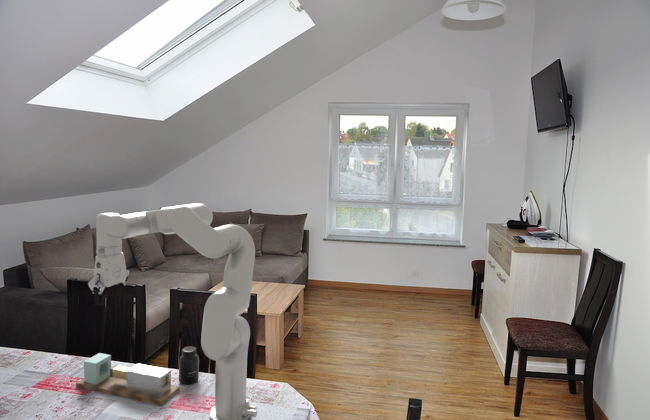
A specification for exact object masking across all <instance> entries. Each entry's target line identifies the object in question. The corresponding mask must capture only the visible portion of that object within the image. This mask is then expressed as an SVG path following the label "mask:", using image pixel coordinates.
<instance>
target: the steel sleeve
mask: <svg viewBox="0 0 650 420" xmlns="http://www.w3.org/2000/svg"><path fill="white" fill-rule="evenodd" d="M165 376H166V383H165V384H164V385H163V386H162V379H163V378H164V377H165ZM171 385H172V369H168V368H165V367H160V366H153V365H148V364H144V363H143V364H142V363H136V364H135V365H134V366H132V367H130V369H129V370H127V390H130V391H135V392H140V393H144V394H149V395H154V396H159V397H161V396H162V395H164V394H165V393H166V392H167V391H169V390H170V389H171Z"/></svg>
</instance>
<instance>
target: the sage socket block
mask: <svg viewBox="0 0 650 420" xmlns="http://www.w3.org/2000/svg"><path fill="white" fill-rule="evenodd" d="M110 368H112V355H111V354H107V353H101V352H98V353H97V354H95V355H93V356H92V357H89V358H87V359H85V360H83V377H84V378H83V379H84V382H87V383H91V384H98V383H100V382H101V381H103V380H104V379H106V378H108V377H109V376H110Z"/></svg>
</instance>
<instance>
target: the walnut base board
mask: <svg viewBox="0 0 650 420" xmlns="http://www.w3.org/2000/svg"><path fill="white" fill-rule="evenodd" d="M75 386H76V388H79V389H83V390H88V391H93V392H97V393H102V394H106V395H110V396H115V397H120V398H125V399H129V400H133V401H136V402H137V401H138V402H142V403H146V404H147V403H148V404H152V405H156V406H160V407H161V406H163V405H164V404H166V403H167V402H168V401H170V400H171V399H172V398H174V396H175V395H177V394H178V393H179V392H180V391H181V387H180V386H178V385H173V384H171V389H170V390H169V391H167V392H166V393H165V394H164V395H162V396H161V397H159V396H154V395H149V394H144V393H140V392H135V391H130V390H127V380H123V379H118V378H112V377H110V376H109V377H108V378H106V379H104V380H103V381H101V382H100V383H98V384H91V383H87V382H84V378H82V379H80V380H79V381H77V382H76V383H75Z"/></svg>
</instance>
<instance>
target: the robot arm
mask: <svg viewBox="0 0 650 420" xmlns="http://www.w3.org/2000/svg"><path fill="white" fill-rule="evenodd" d="M95 217H96V219H95V223H96V224H95V228H96V229H95V230H96V232H95V233H96V235H95V236H96V237H95V238H96V250H95V253H96V256H95V260H94V270H93V277H92V279H91V280H89V281H88V282H87V285H88V288H89V290H90V291H91V292H92V294H93V297H94V299H93V300H94V301H93V302H94V305H95V306H100V307H102V306H104V305H105V299H104V298H105V297H104V296H105V295H104V293H103V292H104V290H105V289H106V288H109V287H112V286H115V291H116V293H115V294H116V295H115V296H116V297H119V298H125V297H126V285H127V281H128V280H129V274H130V270H129V269H127V264H126V259H125V253H124V252H123V240H124V239H129V238H133V237H137V236H142V235H143V236H144V235H147V234H155V233H162V234H163V235H174V234H176V235H177V236H178V237H179V238H181V239H182V240H183V241H184V242H186V243H187V244H188V245H189V246H191V248H193V249H194V250H195V251H196V252H198V253H199V254H200V255H202V256H204V257H206V258H209V259H218V258H221V257H223V256H225V255H228V258H227V261H226V264H225V266H224V273H223V281H222V286H221V287H220V289H218V290H216V291H215V292H213V293H212V294H211V295H210V296H209V297H208V298H207V300H206V301H205V304H204V308H203V317H202V325H201V326H202V327H201V335H200V336H201V337H200V344H201V345H200V346H201V349H202V351H203V354H204V355H205V356H206V357H207V358H208V359H210V360H212V361H215V375H214V376H215V378H214V379H215V380H214V382H215V384H214V386H215V387H214V393H215V394H214V406H213V407H211V409H210V411H209V418H210V420H248V419H249V418H250V417H253V418H256V417H257V415H258V410H257V408H258V407H257V406H256V405H251V404H250V399H249V398H247V377H248V376H247V375H248V373H247V372H248V370H247V368H248V352H249V345H250V337H251V327H250V325H249V321H248V320H246V318H244V317H243V316H241V315H242V314H243V313H245V311H247V309H249V307H250V302H251V294H252V293H251V292H252V284H253V275H254V274H253V273H254V267H255V266H254V265H255V260H256V259H255V258H256V246H255V242H254V239H253V237H252V236H251V234H250V233H249V232H248V230H247V229H245V228H244V227H243V226H240V225H237V224H232V223H229V224H224V225H220V226H216V227H212V226H211V224H212V222H213V219H214V214H213V211H212V209H211V208H210V207H209V206H208V205H206V204H204V203H199V202H197V203H196V202H195V203H188V204H181V205H174V206H165V207H161V208H160V209H156V210H155V209H154V210H149V211H140V212H132V213H127V214H120V213H118V212H103V213H102V212H101V213H98V214H97V216H95Z"/></svg>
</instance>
